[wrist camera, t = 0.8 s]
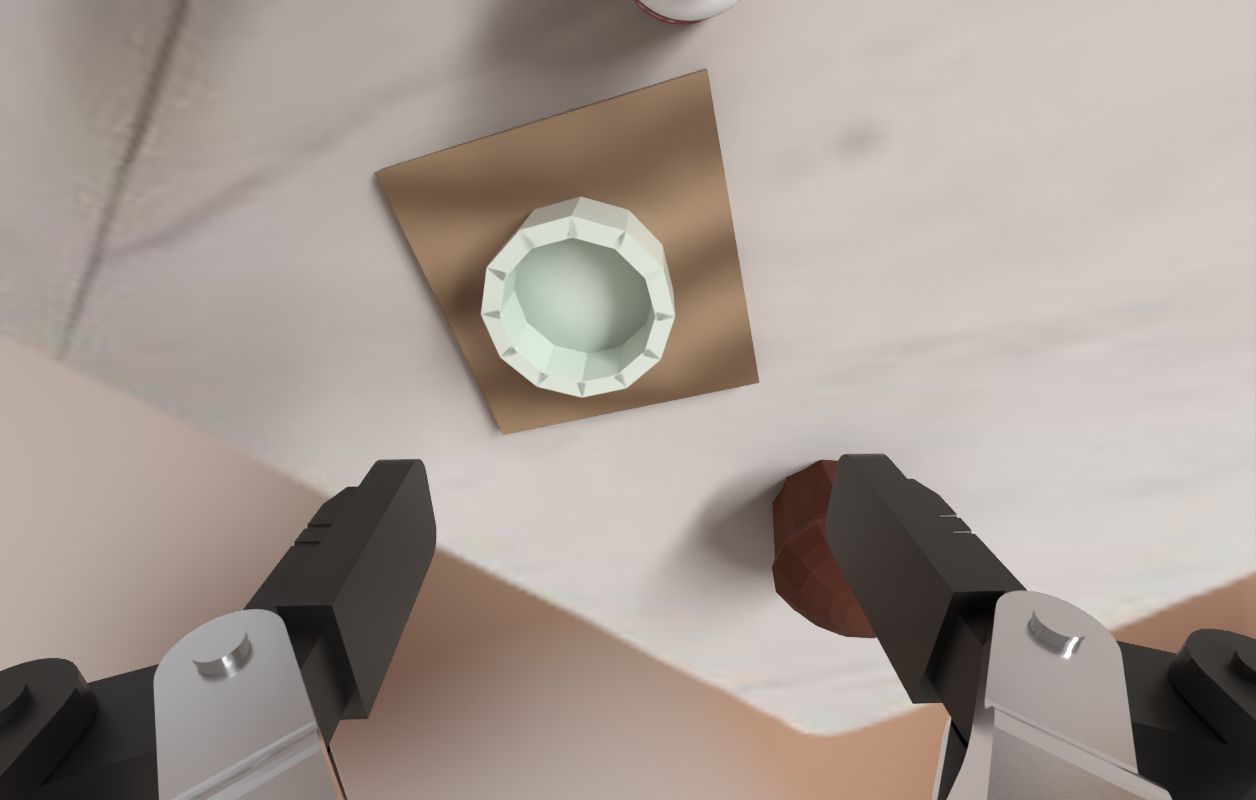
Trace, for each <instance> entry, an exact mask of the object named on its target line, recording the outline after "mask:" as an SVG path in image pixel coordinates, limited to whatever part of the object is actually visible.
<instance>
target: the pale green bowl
mask: <svg viewBox="0 0 1256 800" xmlns="http://www.w3.org/2000/svg"><path fill="white" fill-rule="evenodd" d="M481 316H482V318H483V320H484V323H485V325H486V327H487V329H488V331H489V334H490V336H491V338H492V340H493V343H494V345H495V347H496V349H497V351H498V354H499V356H500V358H502V359H503V360H504V361H505V362H507V363H508V364H509V365H510V366H512V367H513V368H514V369H515V370H517V371H518V372H519V373H520V374H522V375H523V376H524V377H525V378H527V379H528V380H529V381H530V382H532V383H533V384H534V385H535V386H537V387H540V388H544V389H549V390H553V391H557V392H561V393H565V394H569V395H573V396H578V397H582V398H583V397H588V396H592V395H597V394H602V393H607V392H611V391H616V390H621V389H625V388H627V387H629V386H630V385H631V384H632V383H633V382H635V381H636V380H637V379H638V378H639V377H641V376H642V375H643V374H644V373H645V372H647V371H648V370H649V369H650V368H651V367H653V366H654V365H655V364H656V363H657V362H659V361H660V360H661V357H662V354H663V351H664V348H665V345H666V342H667V339H668V336H669V333H670V330H671V328H672V325H673V322H674V319H675V308H674V295H673V287H672V283H671V278H670V274H669V270H668V266H667V262H666V258H665V253H664V249H663V245H662V244H661V243H660V242H659V241H658V240H657V239H656V238H655V237H654V236H653V234H652V233H651V232H650V231H649V230H648V229H647V228H646V227H645V226H644V225H643V224H642V223H641V222H640V221H639V220H638V219H637V218H636V217H635V216H634V215H633V214H632V213H631V212H630V211H629V210H627V209H623V208H620V207H616V206H613V205H609V204H606V203H602V202H599V201H595V200H591V199H588V198H584V197H577V198H574V199H570V200H566V201H563V202H559V203H556V204H552V205H549V206H545V207H541V208H538V209H534V211H533V212H532V213H531V214H530V215H529V216H528V217H527V219H526V220H525V221H524V222H523V223H522V224H521V225H520V227H519V228H518V229H517V230H516V231H515V232H514V233H513V235H512V236H511V237H510V238H509V239H508V240H507V241H506V243H505V244H504V245H503V246H502V248H501V249H500V250H499V252H498V253H497V254H496V256H495V257H494V258H493V260H492V261H491V262H490V264H489V265H488V266H487V269H486V277H485V285H484V293H483V301H482V309H481Z"/></svg>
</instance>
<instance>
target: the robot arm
mask: <svg viewBox="0 0 1256 800" xmlns="http://www.w3.org/2000/svg"><path fill="white" fill-rule="evenodd" d="M825 531H826V538H827V543H828V546H829V549H830V551H831V553H832V555H833V557H834V559H835V561H836V562H837V564H838V566H839V568H840V570H841V572H842V573H843V575H844V577H845V579H846V581H847V583H848V585H849V586H850V588H851V590H852V592H853V594H854V596H855V597H856V599H857V601H858V603H859V605H860V607H861V609H862V610H863V612H864V614H865V616H866V618H867V620H868V621H869V623H870V625H871V627H872V629H873V631H874V633H875V634H876V636H877V638H878V640H879V642H880V644H881V646H882V647H883V649H884V651H885V653H886V655H887V657H888V658H889V660H890V662H891V664H892V666H893V668H894V670H895V671H896V673H897V675H898V677H899V679H900V681H901V682H902V684H903V686H904V688H905V690H906V692H907V694H908V695H909V697H910V699H911V701H912V703H913V704H917V703H943V705H944V706H945V708H946V710H947V711H948V713H949V715H950V716H949V718H948V721H947V723H946V726H945V729H944V735H943V740H942V745H941V751H940V757H939V762H938V767H937V773H936V779H935V784H934V789H933V795H932V800H1256V640H1255V639H1253V638H1250V637H1247V636H1244V635H1241V634H1237V633H1234V632H1230V631H1224V630H1218V629H1201V630H1197V631H1194V632H1193V633H1191V634H1190V635H1189V637H1188V638H1187V640H1186V641H1185V643H1184V644H1183V646H1182V647H1181V649H1180V650H1179V652H1178V653H1177V654H1175V653H1171V652H1166V651H1161V650H1157V649H1152V648H1148V647H1143V646H1138V645H1134V644H1129V643H1125V642H1120V641H1116V640H1115V639H1114V637H1113V636H1112V635H1111V633H1110V632H1109V631H1108V630H1107V629H1106V628H1105V627H1104V626H1103V625H1102V624H1100V623H1099V622H1098V621H1097V620H1096V619H1094V618H1093V617H1092V616H1090V615H1089V614H1087V613H1086V612H1084V611H1083V610H1081V609H1079V608H1078V607H1076V606H1074V605H1072V604H1070V603H1068V602H1066V601H1064V600H1061V599H1059V598H1056V597H1053V596H1050V595H1047V594H1043V593H1039V592H1033V591H1027V590H1026V589H1025V587H1024V586H1023V585H1022V584H1021V583H1020V582H1019V581H1018V580H1017V579H1016V578H1015V577H1014V576H1013V574H1012V573H1011V572H1010V571H1009V570H1008V569H1007V568H1006V567H1005V566H1004V565H1003V564H1002V563H1001V561H1000V560H999V559H998V558H997V557H996V556H995V555H994V554H993V553H992V552H991V551H990V550H989V549H988V547H987V546H986V545H985V544H984V543H983V542H982V541H981V540H980V539H979V538H978V537H977V536H976V534H972V533H971V529H970V528H969V527H968V526H967V525H966V524H965V523H964V521H963V520H962V519H961V518H957V516H956V513H955V512H954V511H953V510H952V509H951V507H950V506H949V505H948V504H947V503H946V502H945V501H944V500H943V499H942V498H941V497H940V496H939V495H938V494H937V493H935V492H933V491H932V490H930V489H929V488H927V487H925V486H924V485H922V484H921V483H919V482H917V481H916V480H914V479H907V478H906V477H905V476H904V475H903V473H902V472H901V471H900V470H899V469H898V468H897V467H896V465H895V464H894V463H893V462H892V461H891V460H890V459H889V458H888V457H887V456H886V455H884V454H844V455H842V456H841V457H840V459H839V461H838V463H837V467H836V472H835V477H834V481H833V486H832V491H831V496H830V501H829V505H828V510H827V515H826V521H825ZM435 545H436V523H435V518H434V512H433V507H432V501H431V496H430V491H429V485H428V480H427V474H426V469H425V466H424V464H423V462H422V461H421V460H420V459H400V460H378V461H376V462H375V464H374V465H373V466H372V468H371V469H370V471H369V472H368V474H367V475H366V476H365V478H364V479H363V481H362V482H361V484H360V485H359V487H347V488H345V489H344V490H342V491H341V492H340V493H338V494H337V495H335V496H334V497H333V498H331V499H330V500H328V501H327V502H326V503H324V504H323V505H322V506H321V508H320V509H319V510H318V512H317V513H316V514H315V516H314V517H313V518H312V519H311V521H310V522H309V523H308V528H307V529H304V530H303V532H302V533H301V534H300V535H299V537H298V538H297V539H296V541H295V545H294V546H291V547H290V549H289V550H288V551H287V552H286V554H285V555H284V556H283V558H282V559H281V560H280V562H279V563H278V564H277V566H276V567H275V568H274V570H273V571H272V572H271V574H270V575H269V576H268V578H267V579H266V580H265V582H264V583H263V584H262V585H261V587H260V588H259V589H258V591H257V592H256V594H255V595H254V596H253V597H252V599H251V600H250V601H249V603H248V604H247V605H246V607H245V608H244V609H243V611H238V612H233V613H230V614H226V615H224V616H221V617H218V618H216V619H214V620H212V621H209V622H207V623H205V624H204V625H202V626H200V627H198V628H197V629H195V630H193V631H192V632H190V633H189V634H188V635H186V636H185V637H184V638H182V639H181V640H180V641H179V642H177V643H176V644H175V645H174V646H173V647H172V648H171V649H170V650H169V651H168V653H167V654H166V655H165V656H164V658H163V659H162V660H161V662H160V664H157V665H154V666H150V667H147V668H143V669H139V670H135V671H131V672H128V673H124V674H120V675H117V676H113V677H109V678H105V679H102V680H98V681H94V682H90V683H87V682H86V680H85V679H84V677H83V676H82V674H81V673H80V671H79V670H78V668H77V666H75V664H74V663H73V662H70V661H68V660H66V659H59V658H46V659H39V660H34V661H30V662H25V663H22V664H19V665H16V666H13V667H10V668H7V669H5V670H2V671H0V800H348V797H347V794H346V791H345V788H344V785H343V782H342V779H341V776H340V773H339V770H338V767H337V764H336V761H335V758H334V755H333V751H332V749H331V746H330V744H329V743H330V741H331V739H332V737H333V734H334V732H335V730H336V728H337V725H338V723H339V721H340V720H348V719H368V717H369V715H370V712H371V710H372V707H373V704H374V702H375V700H376V697H377V695H378V692H379V690H380V687H381V685H382V682H383V680H384V677H385V675H386V672H387V670H388V668H389V665H390V663H391V660H392V657H393V655H394V653H395V650H396V648H397V645H398V643H399V640H400V638H401V635H402V633H403V630H404V628H405V625H406V623H407V620H408V618H409V615H410V613H411V611H412V608H413V606H414V603H415V601H416V598H417V596H418V593H419V591H420V588H421V586H422V583H423V581H424V578H425V576H426V573H427V571H428V568H429V566H430V563H431V561H432V558H433V555H434V551H435Z"/></svg>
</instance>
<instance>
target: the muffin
mask: <svg viewBox="0 0 1256 800" xmlns="http://www.w3.org/2000/svg"><path fill="white" fill-rule="evenodd" d="M837 463H838V461H832V460H820V461H818V462H816V463H815V464H813V465H811V466H810V467H808V468H806V469H805V470H803V471H800V472H798V473H796V474H793V475H791V476H789V477H787V479H786V482H785V484H784V486H783V488H782V490H781V492H780V493H779V495H778V496H777V497H776V499H775V500H774V502H773V519H774V543H775V560H774V563H773V566H772V570H773V576H774V582H775V588H776V592H777V593H778V594H779V595H780V596H781V597H782V598H783V599H784V600H785V601H786V602H787V603H788V604H789V605H790V606H791V607H792V608H793V609H794V610H795V611H797V612H798V613H800V614H801V615H802V616H804V617H805V618H806V619H808V620H809V621H810V622H812V623H814V624H815V625H817V626H818V627H821V628H824V629H826V630H829V631H831V632H834V633H837V634H839V635H842V636H846V637H860V638H877V636H876V634H875V633H874V631H873V629H872V627H871V625H870V623H869V621H868V620H867V618H866V616H865V614H864V612H863V610H862V609H861V607H860V605H859V603H858V601H857V599H856V597H855V596H854V594H853V592H852V590H851V588H850V586H849V585H848V583H847V581H846V579H845V577H844V575H843V573H842V572H841V570H840V568H839V566H838V564H837V562H836V561H835V559H834V557H833V555H832V553H831V551H830V549H829V546H828V543H827V538H826V531H825V521H826V515H827V510H828V505H829V501H830V496H831V491H832V486H833V481H834V477H835V472H836V467H837Z"/></svg>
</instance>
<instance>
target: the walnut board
mask: <svg viewBox="0 0 1256 800" xmlns="http://www.w3.org/2000/svg"><path fill="white" fill-rule="evenodd" d="M375 174H376V176H377V178H378V180H379V182H380V184H381V186H382V188H383V190H384V192H385V194H386V197H387V199H388V201H389V203H390V205H391V207H392V209H393V211H394V213H395V215H396V217H397V219H398V221H399V223H400V225H401V227H402V229H403V231H404V233H405V235H406V237H407V240H408V242H409V244H410V246H411V248H412V250H413V252H414V254H415V256H416V258H417V260H418V262H419V264H420V266H421V268H422V270H423V272H424V274H425V276H426V278H427V280H428V282H429V285H430V287H431V289H432V291H433V293H434V295H435V297H436V299H437V301H438V303H439V305H440V307H441V309H442V311H443V313H444V315H445V317H446V319H447V321H448V323H449V325H450V328H451V330H452V332H453V334H454V336H455V338H456V340H457V342H458V344H459V346H460V348H461V350H462V352H463V354H464V356H465V358H466V360H467V362H468V364H469V366H470V368H471V371H472V373H473V375H474V377H475V379H476V381H477V383H478V385H479V387H480V389H481V391H482V393H483V395H484V397H485V399H486V401H487V403H488V405H489V407H490V409H491V411H492V413H493V416H494V418H495V420H496V422H497V424H498V426H499V428H500V430H501V432H502V434H503V435H505V434H510V433H515V432H520V431H524V430H529V429H534V428H539V427H544V426H549V425H554V424H559V423H564V422H569V421H574V420H578V419H583V418H588V417H593V416H598V415H603V414H608V413H613V412H618V411H623V410H628V409H632V408H637V407H642V406H647V405H652V404H657V403H662V402H667V401H672V400H677V399H682V398H686V397H691V396H696V395H701V394H706V393H711V392H716V391H721V390H726V389H731V388H736V387H740V386H745V385H750V384H755V383H759V378H758V372H757V366H756V360H755V354H754V348H753V342H752V336H751V330H750V324H749V318H748V312H747V306H746V300H745V294H744V288H743V282H742V276H741V270H740V264H739V258H738V252H737V246H736V240H735V234H734V228H733V222H732V216H731V210H730V204H729V198H728V192H727V186H726V180H725V174H724V168H723V162H722V156H721V150H720V144H719V138H718V132H717V126H716V120H715V114H714V107H713V101H712V95H711V89H710V83H709V77H708V71H707V69H703V70H699V71H696V72H693V73H690V74H686V75H683V76H680V77H677V78H674V79H670V80H667V81H664V82H661V83H657V84H654V85H651V86H648V87H644V88H641V89H638V90H635V91H632V92H628V93H625V94H622V95H619V96H615V97H612V98H609V99H606V100H603V101H599V102H596V103H593V104H590V105H586V106H583V107H580V108H577V109H573V110H570V111H567V112H564V113H561V114H557V115H554V116H551V117H548V118H544V119H541V120H538V121H535V122H532V123H528V124H525V125H522V126H519V127H515V128H512V129H509V130H506V131H502V132H499V133H496V134H493V135H490V136H486V137H483V138H480V139H477V140H473V141H470V142H467V143H464V144H461V145H457V146H454V147H451V148H448V149H444V150H441V151H438V152H435V153H431V154H428V155H425V156H422V157H419V158H415V159H412V160H409V161H406V162H402V163H399V164H396V165H393V166H390V167H386V168H383V169H381V170H379V171H377V172H375ZM577 197H584V198H588V199H591V200H595V201H599V202H602V203H606V204H609V205H613V206H616V207H620V208H623V209H627V210H629V211H630V212H631V213H632V214H633V215H634V216H635V217H636V218H637V219H638V220H639V221H640V222H641V223H642V224H643V225H644V226H645V227H646V228H647V229H648V230H649V231H650V232H651V233H652V234H653V236H654V237H655V238H656V239H657V240H658V241H659V242H660V243H661V244H662V245H663V249H664V253H665V258H666V262H667V266H668V270H669V274H670V278H671V283H672V287H673V295H674V308H675V319H674V322H673V325H672V328H671V330H670V333H669V336H668V339H667V342H666V345H665V348H664V351H663V354H662V357H661V360H660V361H659V362H657V363H656V364H655V365H654V366H653V367H651V368H650V369H649V370H648V371H647V372H645V373H644V374H643V375H642V376H641V377H639V378H638V379H637V380H636V381H635V382H633V383H632V384H631V385H630V386H629V387H627V388H625V389H621V390H616V391H611V392H607V393H602V394H597V395H592V396H588V397H583V398H582V397H578V396H573V395H569V394H565V393H561V392H557V391H553V390H549V389H544V388H540V387H537V386H535V385H534V384H533V383H532V382H530V381H529V380H528V379H527V378H525V377H524V376H523V375H522V374H520V373H519V372H518V371H517V370H515V369H514V368H513V367H512V366H510V365H509V364H508V363H507V362H505V361H504V360H503V359H502V358H500V356H499V354H498V351H497V349H496V347H495V345H494V343H493V340H492V338H491V336H490V334H489V331H488V329H487V327H486V325H485V323H484V320H483V318H482V316H481V309H482V301H483V293H484V285H485V277H486V269H487V266H488V265H489V264H490V262H491V261H492V260H493V258H494V257H495V256H496V254H497V253H498V252H499V250H500V249H501V248H502V246H503V245H504V244H505V243H506V241H507V240H508V239H509V238H510V237H511V236H512V235H513V233H514V232H515V231H516V230H517V229H518V228H519V227H520V225H521V224H522V223H523V222H524V221H525V220H526V219H527V217H528V216H529V215H530V214H531V213H532V212H533V211H534V209H538V208H541V207H545V206H549V205H552V204H556V203H559V202H563V201H566V200H570V199H574V198H577Z"/></svg>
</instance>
